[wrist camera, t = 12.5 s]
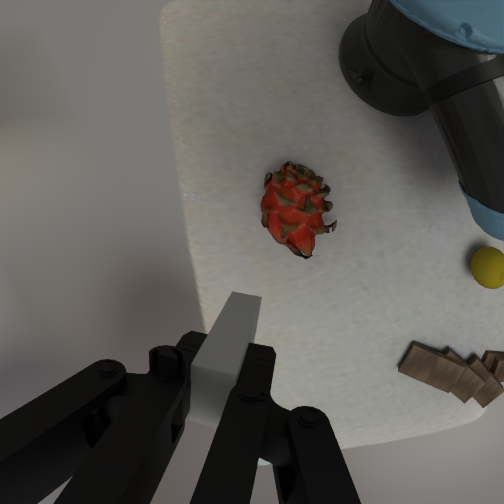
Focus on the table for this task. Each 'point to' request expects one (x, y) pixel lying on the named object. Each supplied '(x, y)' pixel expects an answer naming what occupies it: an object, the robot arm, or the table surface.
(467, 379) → the domino
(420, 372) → the domino
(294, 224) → the dragon fruit
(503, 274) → the lemon
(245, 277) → the table surface
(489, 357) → the domino
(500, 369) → the domino
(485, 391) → the domino
